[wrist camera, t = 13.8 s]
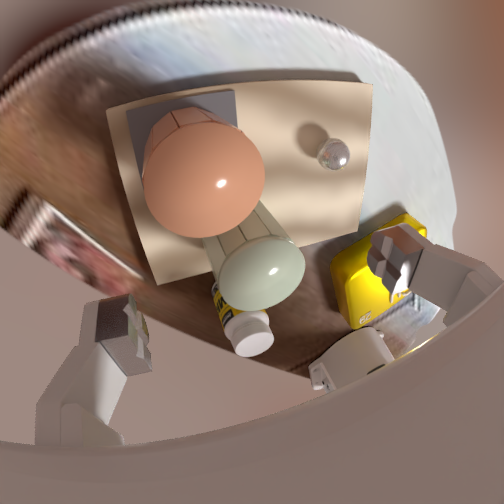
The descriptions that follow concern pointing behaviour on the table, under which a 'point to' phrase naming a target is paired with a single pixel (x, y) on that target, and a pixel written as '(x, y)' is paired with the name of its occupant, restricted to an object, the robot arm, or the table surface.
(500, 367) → the robot arm
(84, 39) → the table surface
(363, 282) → the element tile
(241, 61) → the table surface
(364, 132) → the birch board
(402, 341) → the table surface
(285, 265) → the sage cup
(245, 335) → the supplement bottle
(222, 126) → the terracotta cup
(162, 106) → the charcoal mat
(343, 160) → the steel marble
